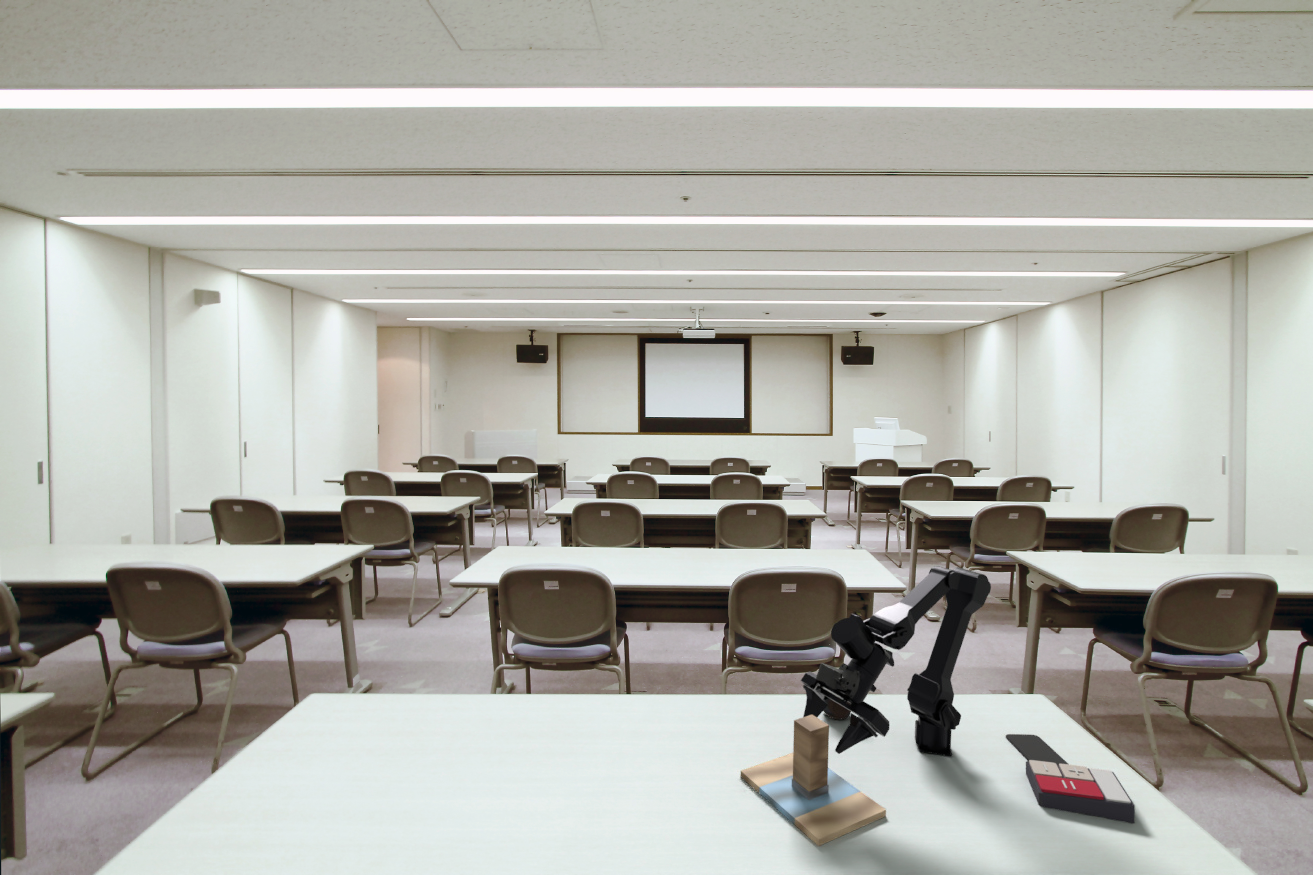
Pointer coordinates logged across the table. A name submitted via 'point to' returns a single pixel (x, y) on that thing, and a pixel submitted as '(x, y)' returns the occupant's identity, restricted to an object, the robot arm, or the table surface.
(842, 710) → the mate gourd
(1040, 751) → the phone
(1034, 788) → the calculator
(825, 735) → the wooden pillar on base
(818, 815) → the board
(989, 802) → the table surface
